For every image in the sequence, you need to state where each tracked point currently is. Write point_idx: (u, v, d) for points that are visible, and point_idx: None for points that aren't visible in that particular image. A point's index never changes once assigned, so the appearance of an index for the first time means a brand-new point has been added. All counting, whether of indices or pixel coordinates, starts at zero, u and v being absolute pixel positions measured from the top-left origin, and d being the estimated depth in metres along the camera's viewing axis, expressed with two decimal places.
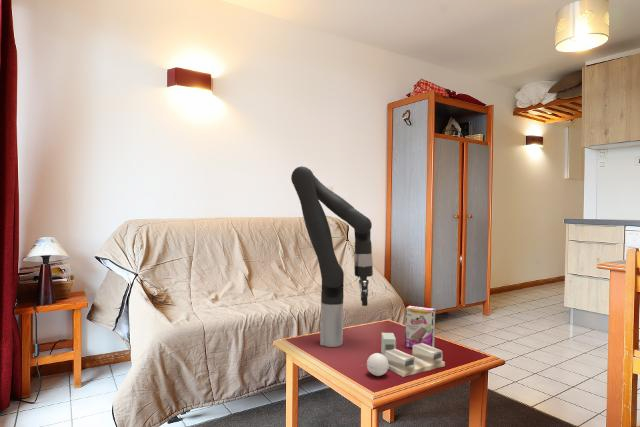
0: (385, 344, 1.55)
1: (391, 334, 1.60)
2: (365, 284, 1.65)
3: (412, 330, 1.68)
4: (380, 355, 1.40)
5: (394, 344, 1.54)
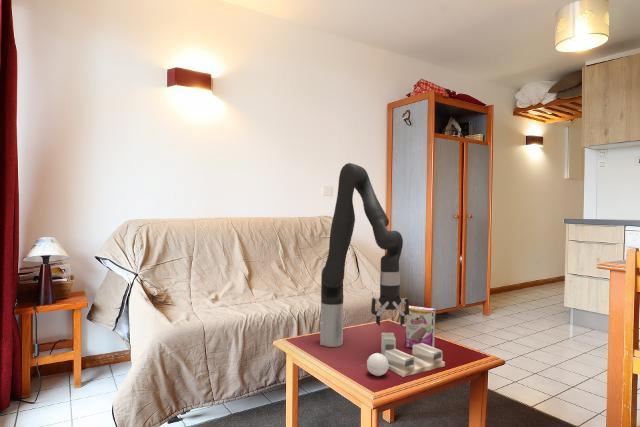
0: (385, 344, 1.55)
1: (391, 334, 1.60)
2: None
3: (412, 330, 1.68)
4: (380, 355, 1.40)
5: (394, 344, 1.54)
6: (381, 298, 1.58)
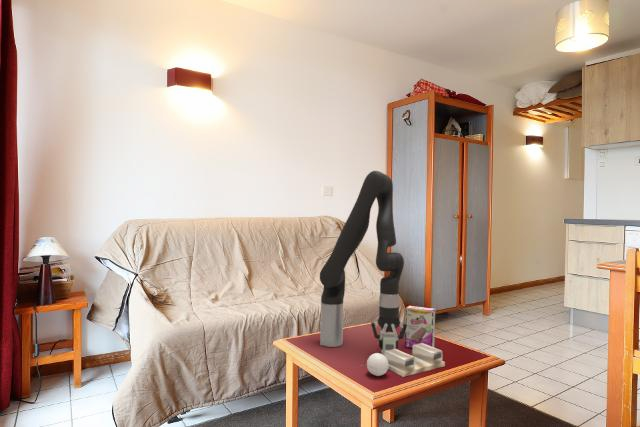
0: (385, 344, 1.55)
1: (391, 334, 1.61)
2: None
3: (412, 330, 1.68)
4: (380, 355, 1.40)
5: (394, 344, 1.55)
6: (379, 320, 1.58)
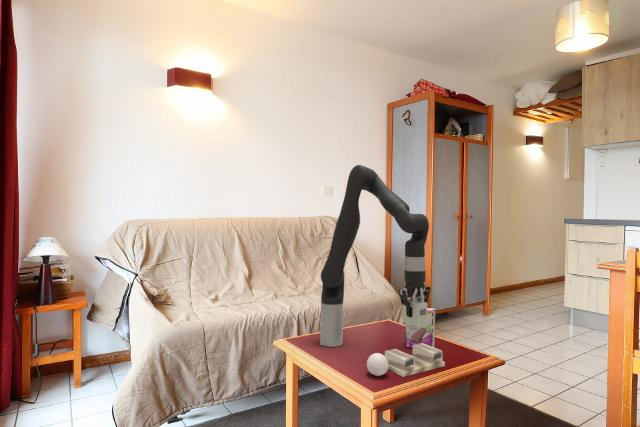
0: (419, 310, 1.46)
1: None
2: None
3: (412, 330, 1.68)
4: (380, 355, 1.40)
5: (426, 308, 1.48)
6: (409, 286, 1.47)
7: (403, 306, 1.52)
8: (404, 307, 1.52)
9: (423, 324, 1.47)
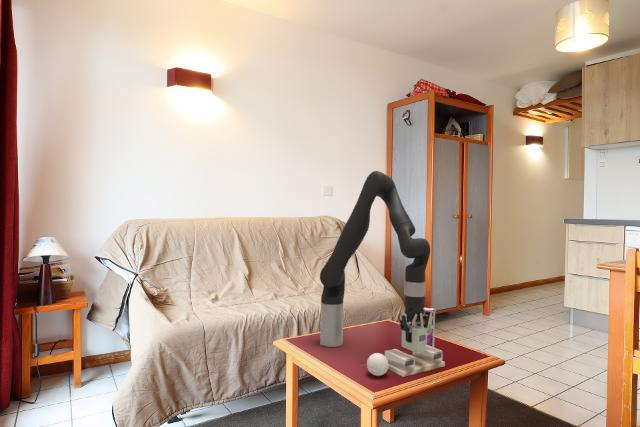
0: (419, 335, 1.45)
1: None
2: None
3: None
4: (380, 355, 1.40)
5: (425, 334, 1.47)
6: (409, 311, 1.46)
7: (402, 331, 1.51)
8: (403, 332, 1.51)
9: (422, 350, 1.46)
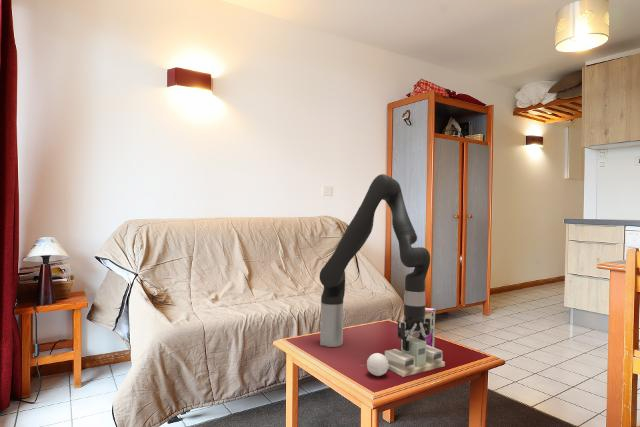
0: (418, 349, 1.45)
1: (412, 337, 1.52)
2: None
3: None
4: (380, 355, 1.40)
5: (425, 347, 1.47)
6: (409, 320, 1.46)
7: (402, 343, 1.51)
8: None
9: (422, 363, 1.46)
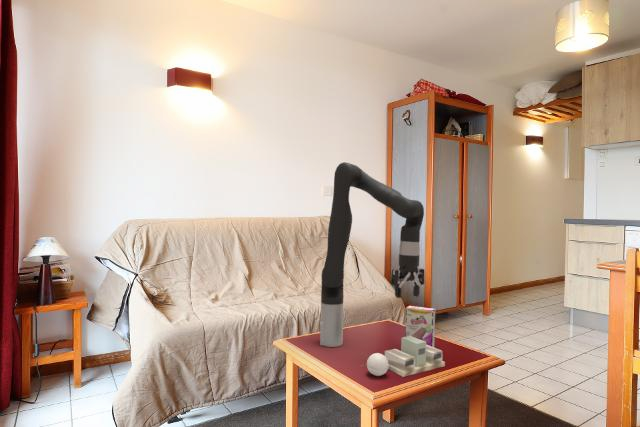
0: (418, 349, 1.45)
1: (412, 337, 1.52)
2: None
3: (412, 330, 1.68)
4: (380, 355, 1.40)
5: (425, 347, 1.47)
6: (403, 269, 1.52)
7: (402, 343, 1.51)
8: (403, 344, 1.51)
9: (422, 363, 1.46)
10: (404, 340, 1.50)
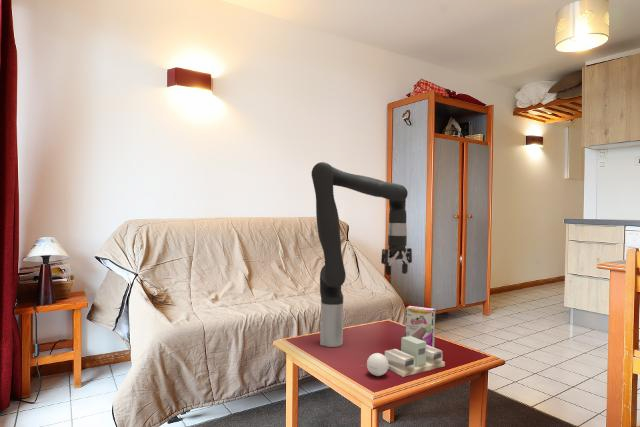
0: (418, 349, 1.45)
1: (412, 337, 1.52)
2: None
3: (412, 330, 1.68)
4: (380, 355, 1.40)
5: (425, 347, 1.47)
6: (392, 248, 1.65)
7: (402, 343, 1.51)
8: (403, 344, 1.51)
9: (422, 363, 1.46)
10: (404, 340, 1.50)
